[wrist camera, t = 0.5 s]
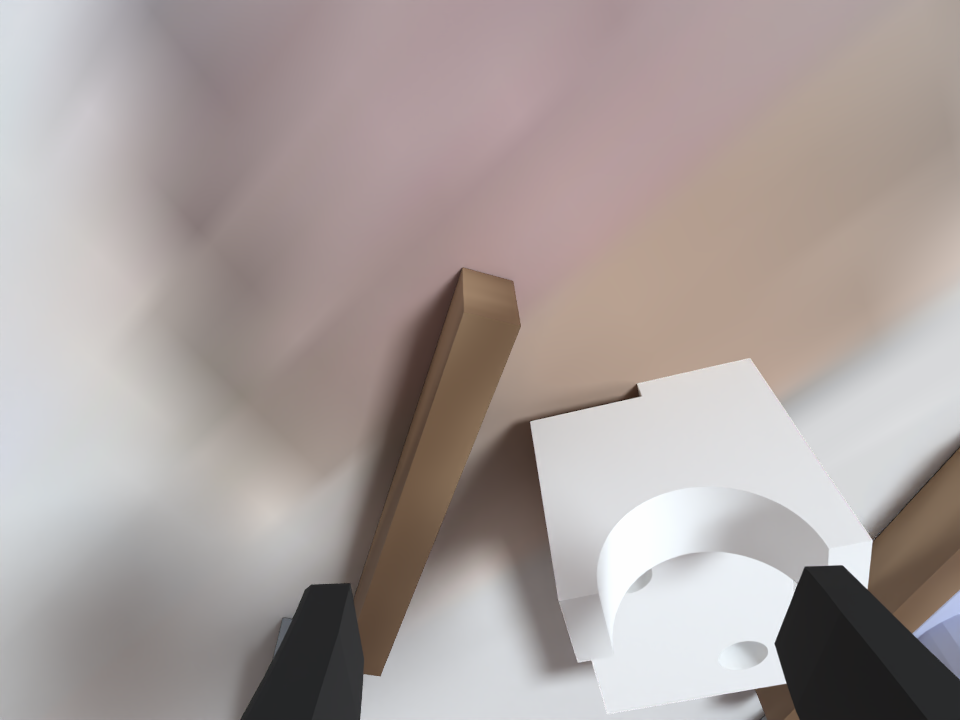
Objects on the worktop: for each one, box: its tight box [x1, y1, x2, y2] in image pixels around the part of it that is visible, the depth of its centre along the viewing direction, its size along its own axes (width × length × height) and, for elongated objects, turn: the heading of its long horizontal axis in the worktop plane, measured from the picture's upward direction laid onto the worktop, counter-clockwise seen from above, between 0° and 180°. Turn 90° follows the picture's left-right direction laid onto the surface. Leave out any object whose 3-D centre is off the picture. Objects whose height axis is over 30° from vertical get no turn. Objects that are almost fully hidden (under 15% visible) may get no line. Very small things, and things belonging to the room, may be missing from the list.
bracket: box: [530, 358, 873, 714], centre depth 22 cm, size 13×7×8 cm, turn 14°
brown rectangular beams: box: [353, 268, 960, 720], centre depth 24 cm, size 20×16×2 cm
